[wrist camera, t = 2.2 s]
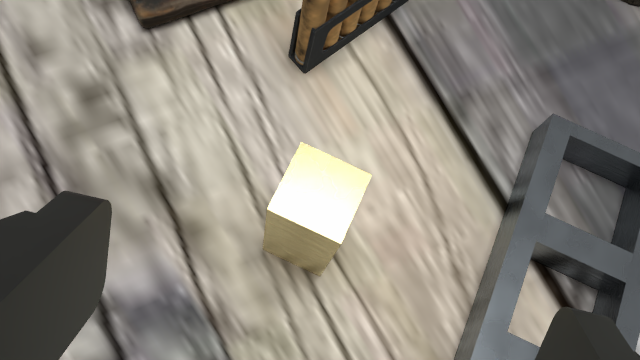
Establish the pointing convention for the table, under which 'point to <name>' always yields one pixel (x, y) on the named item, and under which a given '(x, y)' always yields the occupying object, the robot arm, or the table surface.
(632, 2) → the pillar candle
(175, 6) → the religious icon
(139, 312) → the table surface
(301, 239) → the brass peg
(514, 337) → the rack rail
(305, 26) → the ammunition clip
